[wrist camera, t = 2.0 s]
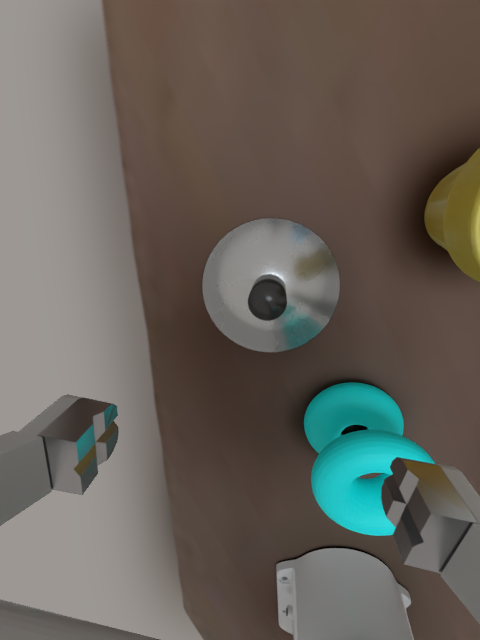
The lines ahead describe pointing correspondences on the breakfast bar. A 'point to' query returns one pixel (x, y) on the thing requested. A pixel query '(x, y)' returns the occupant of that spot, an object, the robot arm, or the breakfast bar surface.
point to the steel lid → (271, 285)
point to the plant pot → (458, 215)
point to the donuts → (356, 453)
